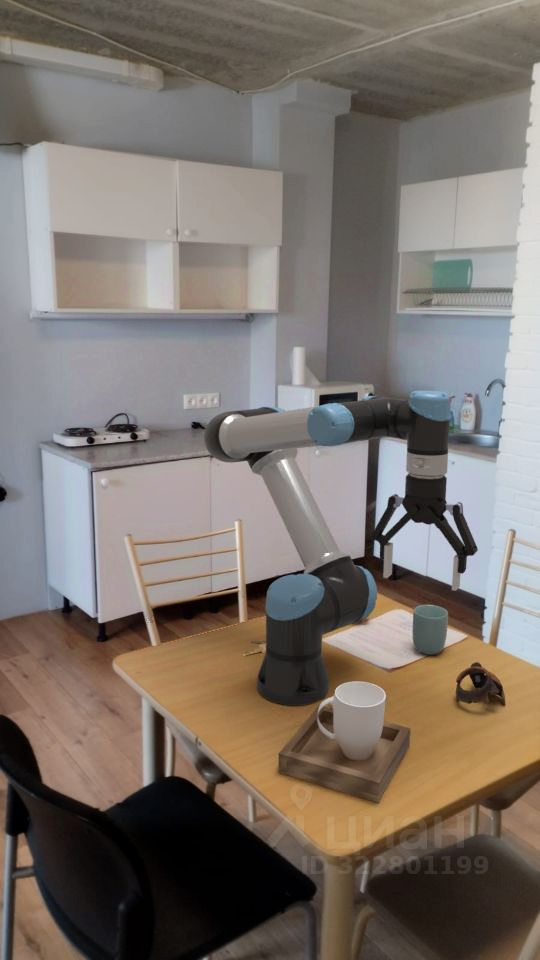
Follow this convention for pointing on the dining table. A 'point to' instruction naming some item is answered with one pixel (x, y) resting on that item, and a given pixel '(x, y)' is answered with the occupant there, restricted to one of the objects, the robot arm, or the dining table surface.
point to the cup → (429, 628)
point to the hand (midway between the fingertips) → (420, 582)
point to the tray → (343, 758)
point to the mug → (356, 718)
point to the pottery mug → (479, 685)
